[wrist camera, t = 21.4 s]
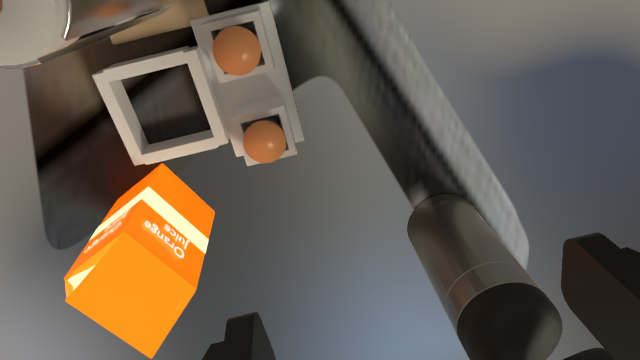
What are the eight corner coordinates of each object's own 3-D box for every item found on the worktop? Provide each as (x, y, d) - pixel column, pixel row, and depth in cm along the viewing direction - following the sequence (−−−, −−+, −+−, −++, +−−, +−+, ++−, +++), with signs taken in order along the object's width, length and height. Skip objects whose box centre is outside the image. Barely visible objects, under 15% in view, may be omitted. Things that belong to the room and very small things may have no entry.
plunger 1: (267, 58, 43) (266, 69, 39) (227, 68, 43) (221, 80, 39) (255, 15, 41) (253, 21, 37) (213, 26, 41) (205, 33, 37)
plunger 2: (289, 139, 47) (290, 157, 43) (252, 148, 47) (250, 167, 43) (279, 103, 45) (279, 118, 41) (241, 113, 45) (237, 128, 41)
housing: (304, 136, 49) (307, 154, 45) (150, 174, 50) (138, 195, 45) (269, 0, 42) (268, 4, 38) (91, 44, 43) (69, 53, 38)
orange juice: (171, 245, 54) (120, 381, 36) (116, 199, 51) (29, 325, 33) (216, 211, 53) (186, 336, 35) (163, 161, 49) (99, 271, 31)
